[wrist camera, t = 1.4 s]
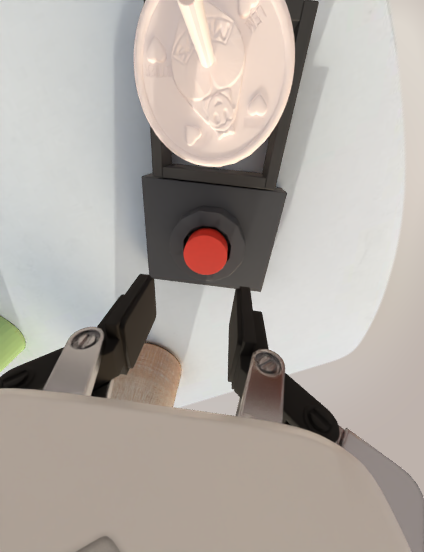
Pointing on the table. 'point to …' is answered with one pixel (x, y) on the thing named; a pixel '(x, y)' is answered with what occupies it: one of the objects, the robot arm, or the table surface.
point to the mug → (9, 342)
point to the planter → (150, 378)
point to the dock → (302, 22)
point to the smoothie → (214, 74)
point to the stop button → (206, 251)
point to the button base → (216, 215)
